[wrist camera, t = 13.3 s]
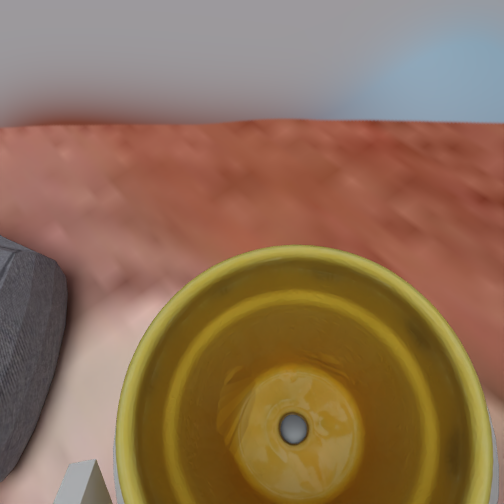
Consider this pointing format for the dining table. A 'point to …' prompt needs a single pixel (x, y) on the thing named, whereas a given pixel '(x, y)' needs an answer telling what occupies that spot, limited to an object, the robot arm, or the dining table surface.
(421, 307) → the plant pot
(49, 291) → the soft grey pack
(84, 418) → the dining table surface
